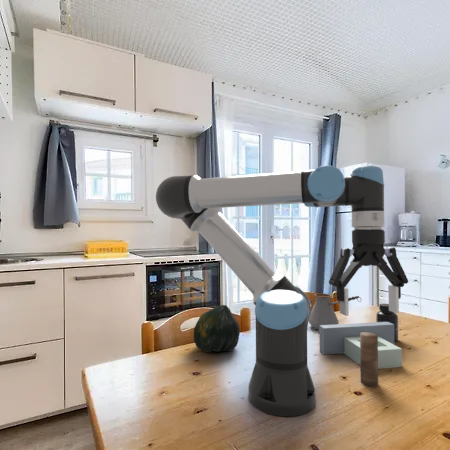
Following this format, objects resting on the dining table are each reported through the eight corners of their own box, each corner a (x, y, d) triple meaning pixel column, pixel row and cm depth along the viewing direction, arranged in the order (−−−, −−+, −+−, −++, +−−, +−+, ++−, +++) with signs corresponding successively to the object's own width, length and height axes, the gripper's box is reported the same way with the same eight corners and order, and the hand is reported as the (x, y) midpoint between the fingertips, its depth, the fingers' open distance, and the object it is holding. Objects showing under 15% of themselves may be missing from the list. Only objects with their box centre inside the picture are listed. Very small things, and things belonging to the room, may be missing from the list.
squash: (181, 329, 102) (199, 300, 95) (215, 322, 111) (235, 295, 104) (198, 369, 93) (221, 340, 86) (234, 357, 103) (257, 331, 96)
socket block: (365, 369, 84) (365, 351, 84) (344, 353, 95) (344, 337, 95) (402, 366, 85) (401, 348, 85) (376, 351, 96) (376, 335, 96)
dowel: (366, 387, 74) (366, 337, 74) (357, 379, 78) (356, 332, 78) (381, 386, 75) (381, 337, 75) (371, 378, 79) (371, 331, 79)
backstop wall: (324, 354, 94) (323, 328, 94) (319, 350, 97) (319, 325, 97) (394, 349, 98) (394, 324, 98) (388, 346, 101) (387, 321, 101)
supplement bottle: (401, 343, 103) (401, 307, 103) (379, 342, 104) (379, 306, 104) (394, 336, 110) (394, 303, 110) (374, 335, 111) (373, 302, 111)
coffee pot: (301, 326, 121) (301, 289, 121) (320, 321, 128) (319, 285, 128) (351, 342, 104) (351, 298, 104) (369, 335, 110) (369, 294, 111)
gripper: (328, 228, 72) (330, 319, 71) (423, 228, 75) (425, 314, 75) (314, 229, 79) (315, 311, 79) (401, 228, 83) (403, 307, 82)
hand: (369, 313), depth 77 cm, fingers open, 13 cm apart
